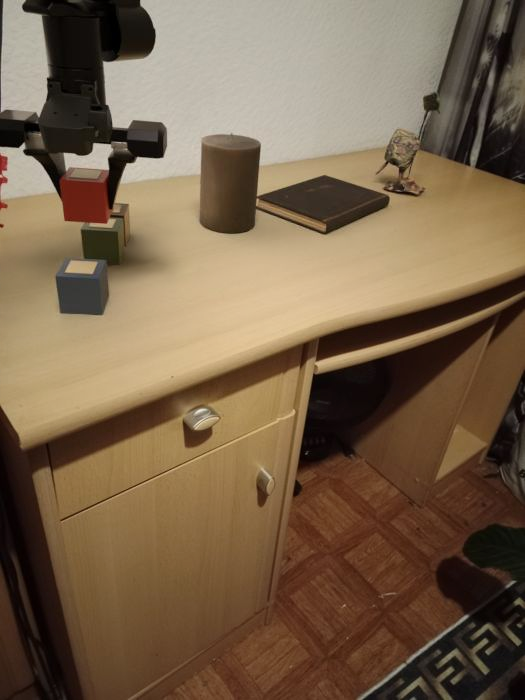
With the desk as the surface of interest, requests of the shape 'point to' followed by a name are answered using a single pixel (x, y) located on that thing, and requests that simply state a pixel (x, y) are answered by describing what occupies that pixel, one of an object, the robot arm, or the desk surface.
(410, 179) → the mottled figurine
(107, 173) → the red block
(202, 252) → the desk surface
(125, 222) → the walnut block
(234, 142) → the pillar candle
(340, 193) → the hardcover book
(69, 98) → the robot arm
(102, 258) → the olive block
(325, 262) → the desk surface
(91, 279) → the slate block
